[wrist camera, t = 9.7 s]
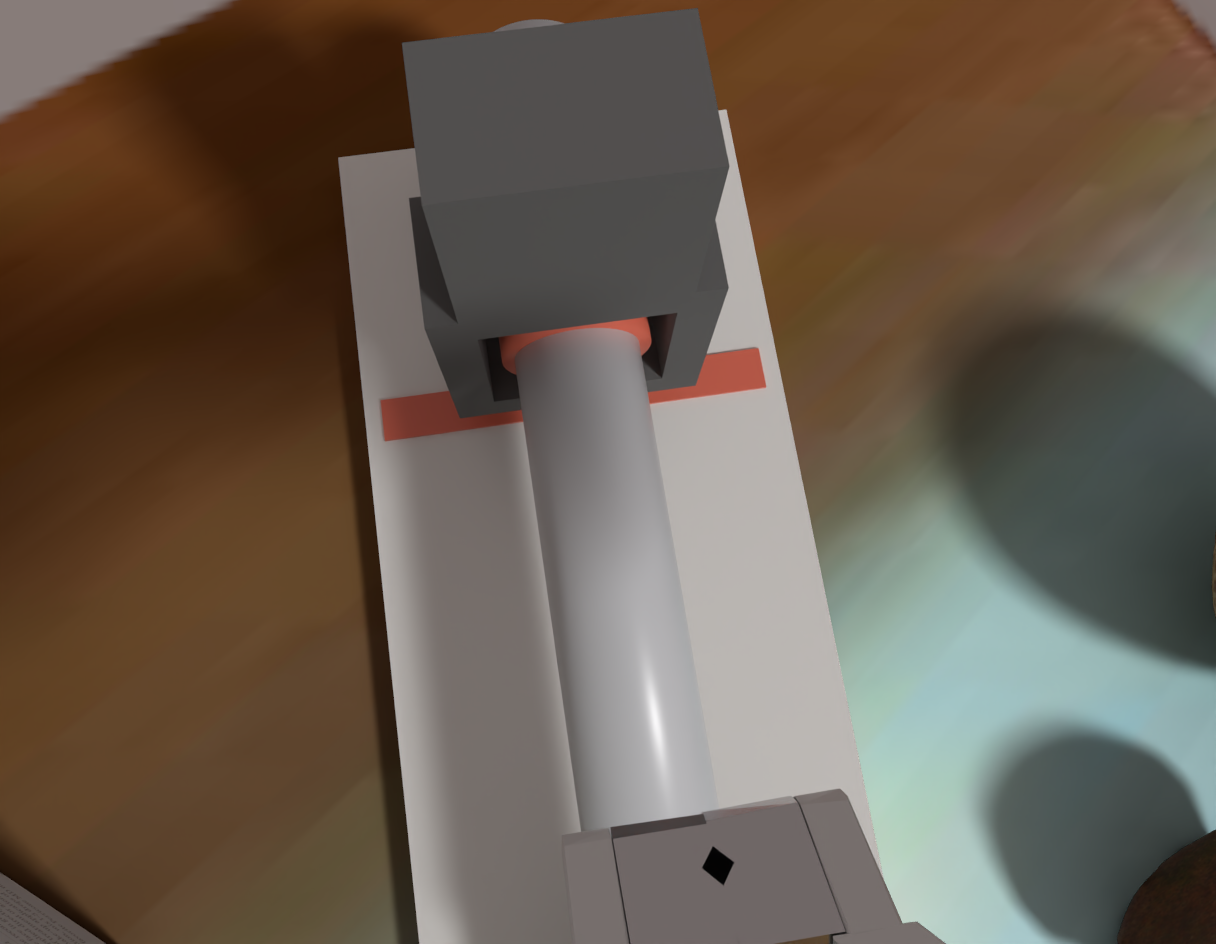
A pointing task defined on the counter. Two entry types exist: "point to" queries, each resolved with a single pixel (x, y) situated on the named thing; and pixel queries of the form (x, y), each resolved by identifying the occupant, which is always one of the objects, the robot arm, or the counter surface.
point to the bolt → (1176, 900)
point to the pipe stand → (585, 582)
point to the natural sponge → (1214, 578)
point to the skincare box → (35, 920)
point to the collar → (566, 193)
